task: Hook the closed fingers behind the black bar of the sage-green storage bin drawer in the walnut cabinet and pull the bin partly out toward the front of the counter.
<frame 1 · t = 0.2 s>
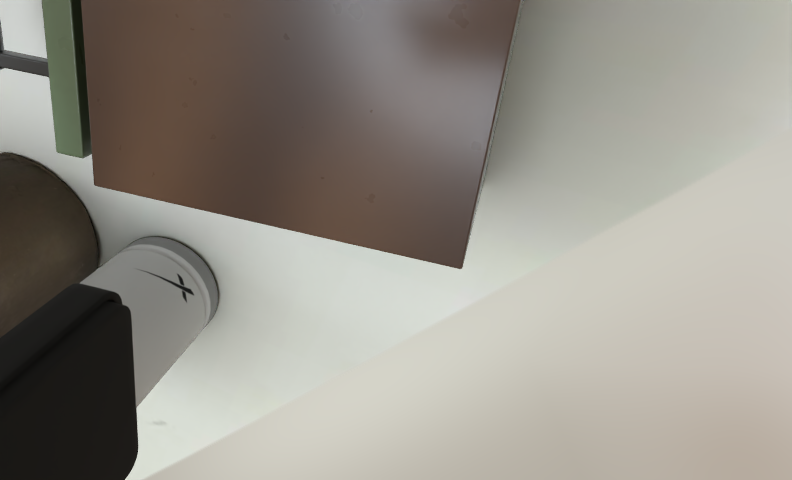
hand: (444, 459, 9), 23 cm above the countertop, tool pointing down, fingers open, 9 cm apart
cabinet: (350, 23, 30), on the countertop
pillar candle: (27, 230, 39), on the countertop
travel mug: (170, 280, 38), on the countertop
bin drawer: (193, 13, 26), point 4 cm above the countertop, slide at 1.0 cm
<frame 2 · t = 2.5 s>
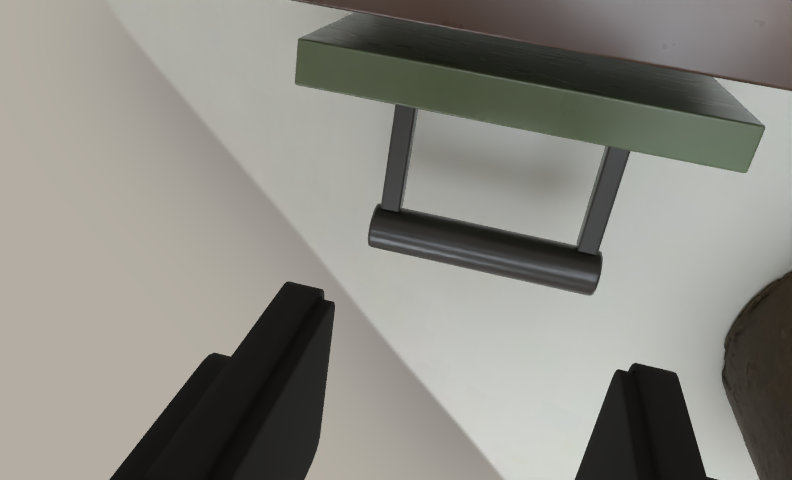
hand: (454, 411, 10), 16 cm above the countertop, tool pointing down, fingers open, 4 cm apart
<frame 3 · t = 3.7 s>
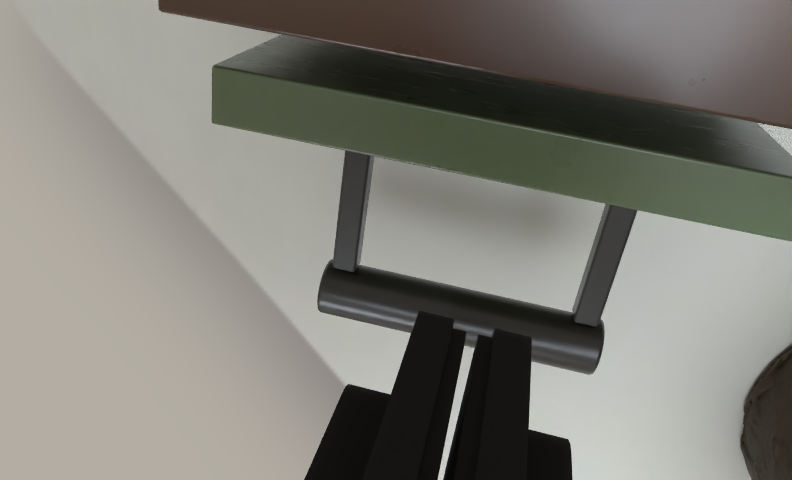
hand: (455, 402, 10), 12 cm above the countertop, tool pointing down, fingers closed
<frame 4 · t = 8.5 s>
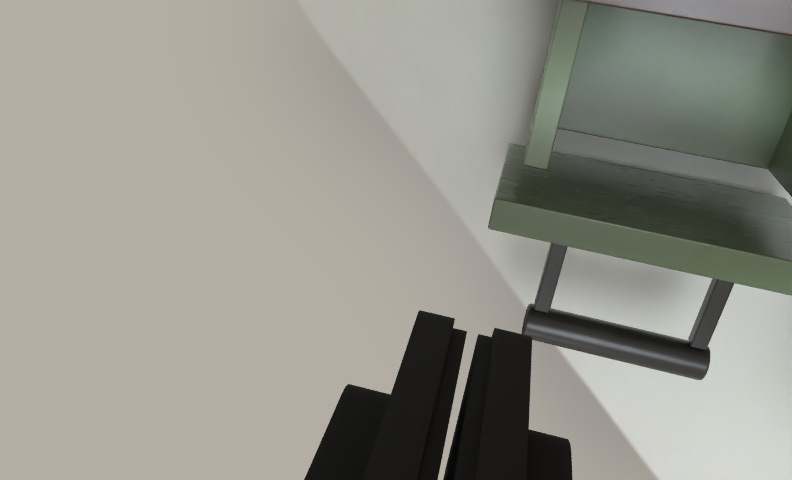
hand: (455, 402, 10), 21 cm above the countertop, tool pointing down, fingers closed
bin drawer: (678, 122, 23), point 4 cm above the countertop, slide at 6.7 cm
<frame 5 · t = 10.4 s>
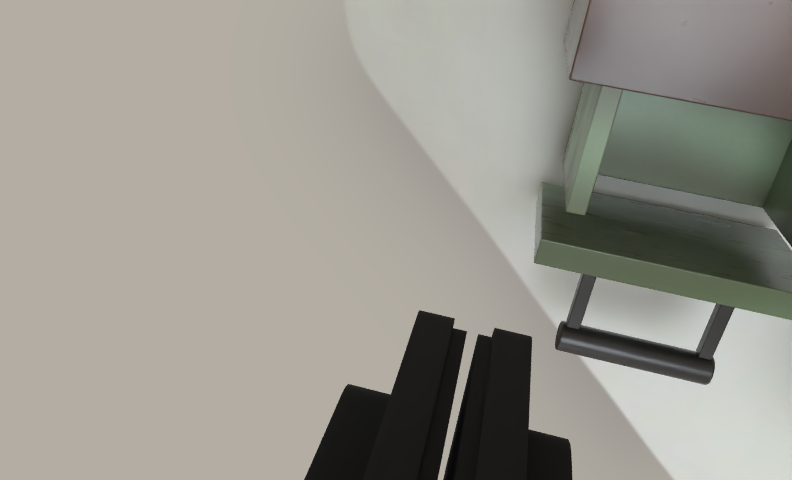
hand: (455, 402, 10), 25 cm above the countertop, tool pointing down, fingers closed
bin drawer: (690, 172, 28), point 4 cm above the countertop, slide at 6.7 cm
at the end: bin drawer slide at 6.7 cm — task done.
